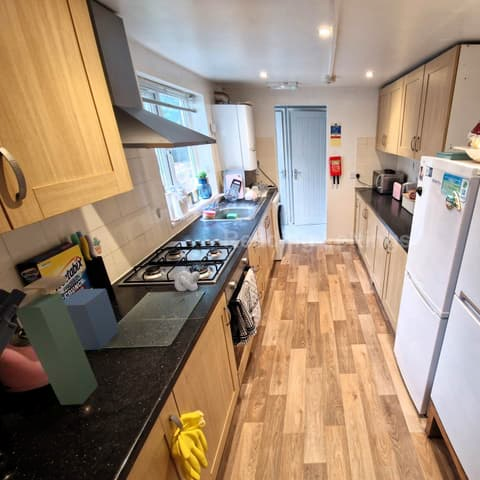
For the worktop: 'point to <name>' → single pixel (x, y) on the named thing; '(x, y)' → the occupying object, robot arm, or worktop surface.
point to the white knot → (186, 281)
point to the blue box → (92, 317)
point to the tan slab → (42, 287)
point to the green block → (58, 348)
